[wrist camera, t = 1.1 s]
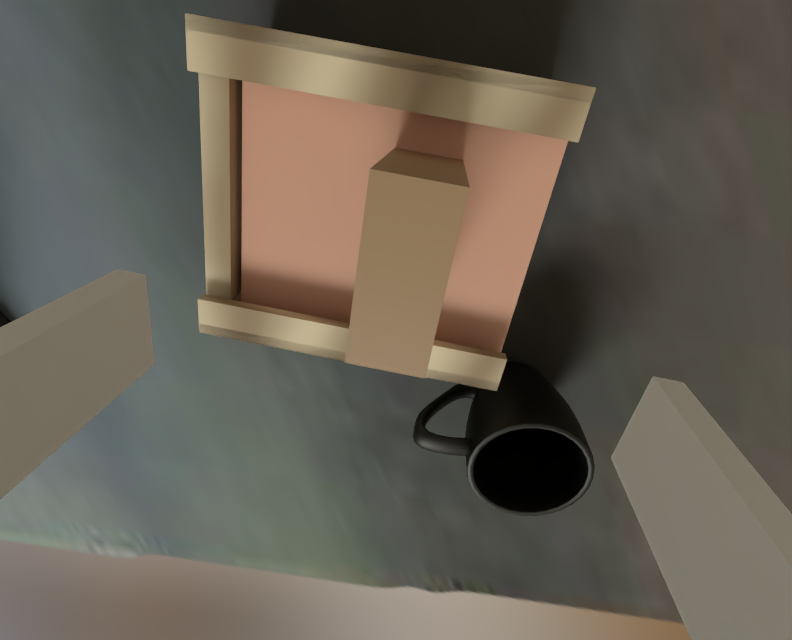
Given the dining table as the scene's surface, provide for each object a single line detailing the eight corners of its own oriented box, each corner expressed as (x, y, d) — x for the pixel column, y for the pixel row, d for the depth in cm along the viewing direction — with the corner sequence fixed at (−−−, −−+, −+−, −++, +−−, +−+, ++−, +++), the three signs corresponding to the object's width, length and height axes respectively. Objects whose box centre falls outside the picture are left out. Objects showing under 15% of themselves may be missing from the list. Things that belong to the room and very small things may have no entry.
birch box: (262, 274, 35) (199, 332, 26) (268, 41, 28) (184, 13, 19) (484, 317, 35) (496, 391, 26) (548, 92, 28) (596, 87, 19)
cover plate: (249, 299, 29) (168, 379, 20) (252, 58, 22) (138, 32, 14) (497, 348, 28) (517, 449, 20) (569, 116, 22) (641, 124, 14)
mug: (434, 324, 36) (430, 393, 27) (578, 362, 36) (618, 442, 27) (409, 403, 39) (399, 486, 31) (539, 437, 40) (564, 529, 31)
